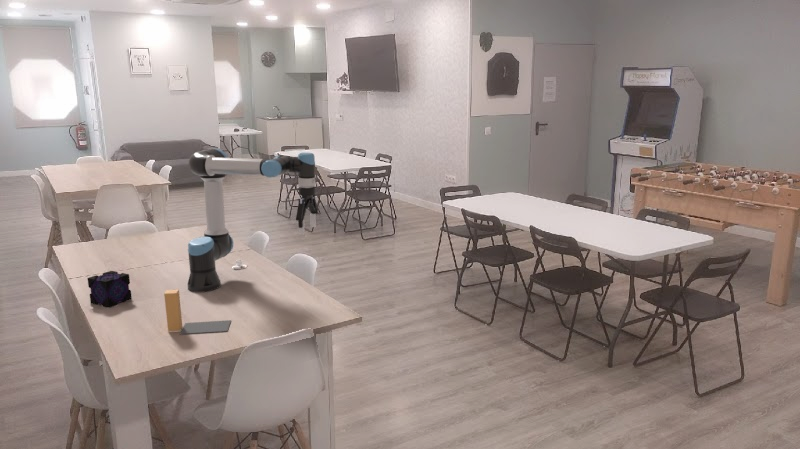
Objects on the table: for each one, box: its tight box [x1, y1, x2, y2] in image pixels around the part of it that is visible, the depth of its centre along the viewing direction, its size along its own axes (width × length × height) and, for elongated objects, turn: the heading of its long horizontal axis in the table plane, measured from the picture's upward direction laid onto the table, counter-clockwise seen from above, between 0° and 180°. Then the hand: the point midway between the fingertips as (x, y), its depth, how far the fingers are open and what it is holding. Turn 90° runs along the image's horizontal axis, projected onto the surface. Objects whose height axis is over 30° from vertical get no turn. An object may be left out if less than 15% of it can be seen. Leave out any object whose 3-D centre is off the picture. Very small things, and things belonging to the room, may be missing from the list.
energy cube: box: [87, 270, 133, 309], centre depth 270 cm, size 12×12×12 cm
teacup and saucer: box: [231, 259, 248, 270], centre depth 321 cm, size 9×8×4 cm
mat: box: [179, 319, 232, 335], centre depth 240 cm, size 18×11×1 cm, turn 98°
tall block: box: [163, 288, 183, 333], centre depth 237 cm, size 4×4×16 cm
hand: (307, 230), depth 285 cm, fingers open, 13 cm apart
